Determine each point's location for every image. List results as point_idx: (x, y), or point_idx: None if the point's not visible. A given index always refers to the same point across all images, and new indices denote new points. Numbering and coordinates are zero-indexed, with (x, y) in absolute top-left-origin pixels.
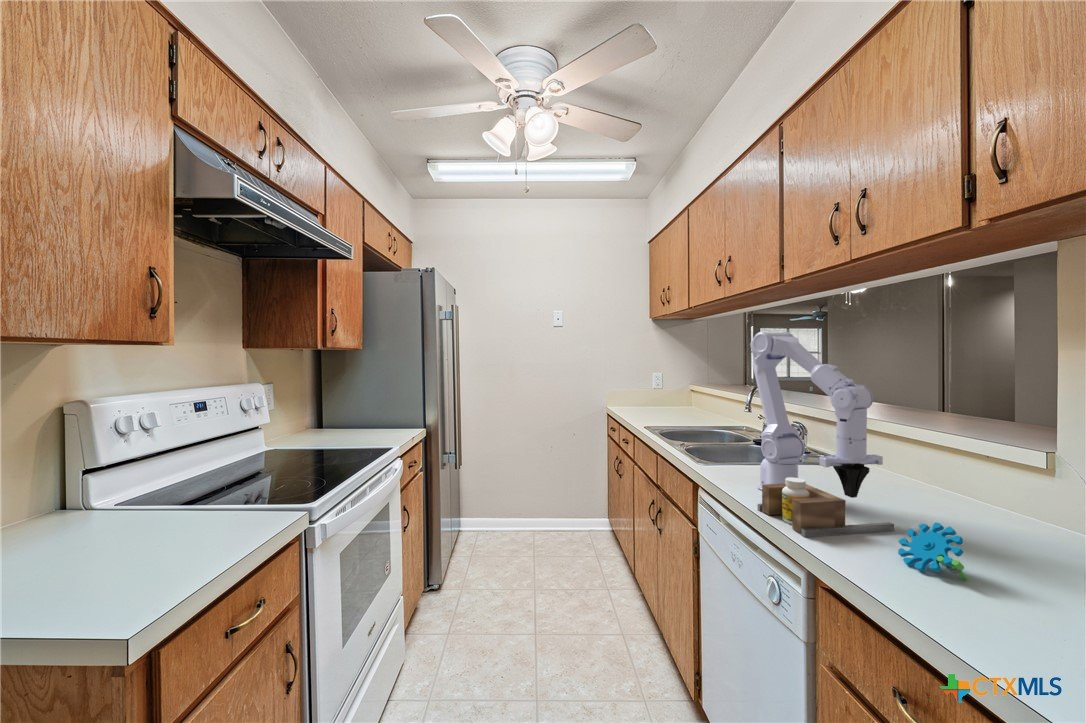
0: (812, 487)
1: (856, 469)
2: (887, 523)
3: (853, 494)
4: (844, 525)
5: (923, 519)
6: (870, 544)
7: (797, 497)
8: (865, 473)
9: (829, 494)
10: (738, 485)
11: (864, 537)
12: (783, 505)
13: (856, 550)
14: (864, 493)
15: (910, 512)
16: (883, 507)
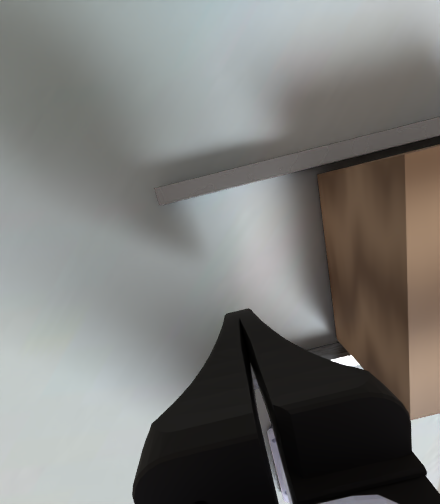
0: (417, 354)
1: (304, 435)
2: (175, 190)
3: (247, 312)
4: (338, 159)
5: (12, 296)
6: (305, 63)
7: None
8: (194, 404)
9: (417, 250)
10: None
11: (287, 125)
12: None
13: (383, 3)
14: (81, 476)
15: (23, 348)
16: (84, 379)
